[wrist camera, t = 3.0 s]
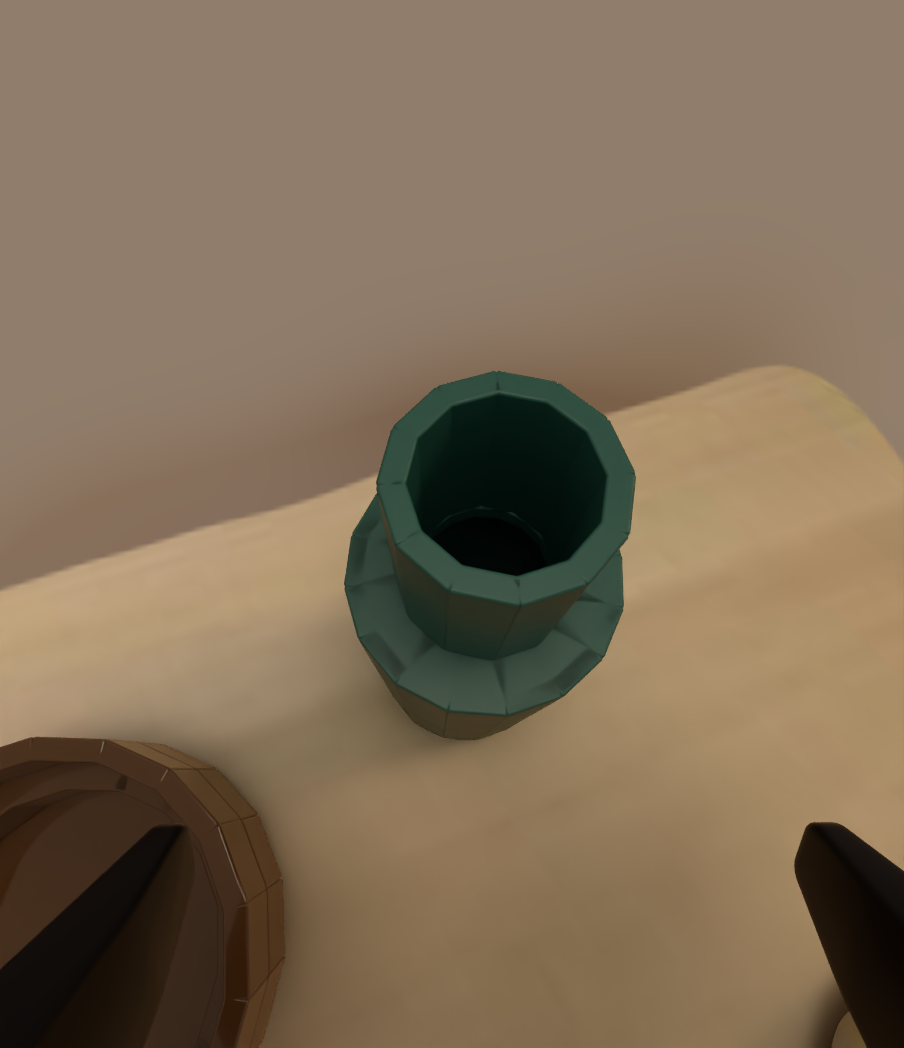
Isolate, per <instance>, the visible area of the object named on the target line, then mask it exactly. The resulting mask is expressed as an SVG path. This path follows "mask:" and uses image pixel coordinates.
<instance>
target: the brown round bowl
mask: <svg viewBox="0 0 904 1048" xmlns="http://www.w3.org/2000/svg"><path fill="white" fill-rule="evenodd" d="M158 824H184V825H186V827H187V828H188V831H189V835H190V839H191V844H192V849H193V853H194V858H195V863H196V871H195V878H194V883H193V886H192V890H191V894H190V897H189V901H188V905H187V908H186V912H185V916H184V919H183V923H182V927H181V930H180V934H179V938H178V941H177V945H176V949H175V952H174V956H173V960H172V963H171V967H170V970H169V974H168V978H167V981H166V985H165V988H164V992H163V995H162V998H161V1002H160V1005H159V1008H158V1010H157V1013H156V1016H155V1019H154V1022H153V1025H152V1027H151V1030H150V1033H149V1035H148V1038H147V1041H146V1043H145V1046H144V1048H259V1046H260V1044H261V1043H262V1040H263V1038H264V1035H265V1032H266V1028H267V1024H268V1020H269V1016H270V1012H271V1009H272V1005H273V1001H274V997H275V993H276V990H277V986H278V982H279V978H280V974H281V970H282V967H283V963H284V959H285V956H284V955H285V936H284V907H283V881H282V879H280V878H281V874H280V871H279V868H278V866H277V863H276V860H275V858H274V855H273V853H272V850H271V847H270V845H269V842H268V839H267V837H266V834H265V831H264V829H263V826H262V823H261V821H260V818H259V817H258V816H257V812H256V811H255V810H254V809H253V808H252V807H251V806H250V804H249V803H248V802H247V801H246V800H245V799H244V798H243V797H242V796H241V795H240V793H239V792H238V791H237V790H236V789H235V788H234V787H233V786H232V785H231V784H230V783H229V781H228V780H227V779H226V778H225V777H224V776H223V775H222V774H221V773H220V772H219V770H217V769H216V768H215V767H212V766H210V765H208V764H206V763H204V762H201V761H199V760H197V759H195V758H193V757H190V756H188V755H186V754H184V753H182V752H179V751H177V750H175V749H173V748H170V747H168V746H166V745H162V744H155V743H144V742H132V741H121V740H110V739H89V738H58V737H35V738H32V737H31V738H28V739H24V740H21V741H18V742H15V743H12V744H9V745H5V746H2V747H0V969H1V968H2V967H3V966H4V965H5V964H6V963H7V962H8V961H9V960H10V959H11V958H12V957H14V956H15V955H16V954H17V953H18V952H19V951H20V950H21V949H22V948H23V947H24V946H25V945H26V944H27V943H29V942H30V941H31V940H32V939H33V938H34V937H35V936H36V935H37V934H38V933H39V932H40V931H41V930H43V929H44V928H45V927H46V926H47V925H48V924H49V923H50V922H51V921H52V920H53V919H54V918H55V917H56V916H58V915H59V914H60V913H61V912H62V911H63V910H64V909H65V908H66V907H67V906H68V905H69V904H70V903H71V902H73V901H74V900H75V899H76V898H77V897H78V896H79V895H80V894H81V893H82V892H83V891H84V890H85V889H86V888H88V887H89V886H90V885H91V884H92V883H93V882H94V881H95V880H96V879H97V878H98V877H99V876H100V875H101V874H103V873H104V872H105V871H106V870H107V869H108V868H109V867H110V866H111V865H112V864H113V863H114V862H115V861H116V860H118V859H119V858H120V857H121V856H122V855H123V854H124V853H125V852H126V851H127V850H128V849H129V848H130V847H132V846H133V845H134V844H135V843H136V842H137V841H138V840H139V839H140V838H141V837H142V836H143V835H144V834H145V833H147V832H148V831H149V830H150V829H151V828H152V827H154V826H155V825H158Z"/></svg>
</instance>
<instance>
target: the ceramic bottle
mask: <svg viewBox="0 0 904 1048" xmlns="http://www.w3.org/2000/svg"><path fill="white" fill-rule="evenodd" d="M635 480H636V477H635V471H634V469H633V467H632V465H631V463H630V461H629V459H628V457H627V455H626V453H625V451H624V449H623V447H622V445H621V443H620V441H619V439H618V437H617V435H616V432H615V430H614V428H613V426H612V424H611V422H610V421H609V420H607V417H606V416H604V415H603V414H602V413H600V412H599V411H597V410H596V409H595V408H593V407H592V406H590V405H589V404H588V403H586V402H585V401H583V400H582V399H580V398H579V397H578V396H576V395H575V394H574V393H572V392H571V391H570V390H568V389H567V388H565V387H564V386H563V385H561V384H559V383H558V384H557V382H555V381H549V380H543V379H538V378H533V377H527V376H522V375H517V374H511V373H506V372H501V371H498V372H494V371H493V372H489V373H485V374H481V375H478V376H474V377H470V378H466V379H462V380H459V381H455V382H451V383H447V384H444V385H440V386H438V387H437V388H434V389H433V390H432V391H431V392H430V393H429V394H428V395H427V396H426V397H424V398H423V399H422V400H421V401H420V402H419V403H418V404H417V405H416V406H415V407H414V408H412V409H411V410H410V411H409V412H408V413H407V414H406V415H405V416H404V417H403V418H402V419H400V420H399V421H398V422H397V423H396V424H395V425H394V427H393V429H392V430H391V432H390V436H389V439H388V443H387V447H386V450H385V454H384V457H383V460H382V464H381V467H380V471H379V474H378V478H377V481H376V484H377V488H376V490H377V494H376V495H375V497H374V499H373V500H372V502H371V504H370V505H369V507H368V509H367V510H366V512H365V513H364V515H363V517H362V518H361V520H360V522H359V523H358V525H357V527H356V528H355V530H354V531H353V534H352V536H351V541H350V548H349V555H348V562H347V568H346V575H345V582H344V585H345V593H346V596H347V600H348V604H349V607H350V611H351V615H352V618H353V622H354V626H355V629H356V633H357V637H358V638H359V640H360V643H361V644H362V646H363V647H364V649H365V651H366V652H367V654H368V656H369V657H370V659H371V661H372V662H373V664H374V666H375V667H376V669H377V670H378V672H379V674H380V675H381V677H382V679H383V680H384V682H385V684H386V685H387V687H388V689H389V690H390V692H391V693H392V695H393V697H394V698H395V699H396V701H397V702H398V703H399V704H400V706H401V707H402V708H403V710H404V711H405V712H406V713H407V714H408V716H409V717H410V718H411V719H412V721H414V722H415V723H417V724H419V725H420V726H422V727H423V728H425V729H427V730H428V731H430V732H433V733H435V734H437V735H439V736H441V737H444V738H452V739H458V740H478V739H481V738H483V737H487V736H490V735H493V734H495V733H498V732H501V731H503V730H506V729H508V728H510V727H511V726H513V725H515V724H517V723H518V722H520V721H522V720H524V719H525V718H527V717H529V716H530V715H532V714H534V713H536V712H537V711H539V710H541V709H543V708H544V707H546V706H548V705H550V704H551V703H553V702H555V701H557V700H558V699H560V698H562V697H563V696H565V695H566V694H567V693H568V692H569V691H570V690H571V689H572V688H573V687H574V686H575V685H576V684H577V683H579V682H580V681H581V680H582V679H583V678H584V677H585V676H586V675H587V674H588V673H589V672H590V671H591V670H592V669H593V668H594V667H595V666H596V665H597V664H599V663H600V662H601V661H602V658H603V657H604V656H605V654H606V651H607V649H608V646H609V644H610V641H611V639H612V636H613V634H614V631H615V629H616V626H617V624H618V621H619V619H620V617H621V614H622V612H623V606H624V600H623V572H622V557H621V553H620V550H619V549H620V547H621V546H622V545H623V544H624V542H625V541H626V540H627V539H628V535H629V534H630V529H631V520H632V510H633V500H634V490H635Z"/></svg>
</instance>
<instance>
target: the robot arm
mask: <svg viewBox="0 0 904 1048" xmlns="http://www.w3.org/2000/svg"><path fill="white" fill-rule="evenodd" d="M794 868H795V874H796V878H797V881H798V884H799V887H800V889H801V892H802V894H803V897H804V900H805V902H806V905H807V907H808V910H809V913H810V915H811V918H812V920H813V923H814V926H815V928H816V931H817V933H818V936H819V939H820V941H821V944H822V946H823V949H824V952H825V954H826V957H827V959H828V962H829V965H830V967H831V970H832V972H833V975H834V978H835V980H836V982H837V985H838V987H839V990H840V992H841V995H842V997H843V999H844V1001H845V1003H846V1006H847V1008H848V1010H849V1012H850V1014H851V1016H852V1019H853V1021H854V1023H855V1025H856V1027H857V1029H858V1031H859V1033H860V1035H861V1037H862V1039H863V1041H864V1043H865V1045H866V1047H867V1048H904V871H903V870H902V869H900V868H899V867H898V866H896V865H895V864H894V863H892V862H891V861H890V860H888V859H887V858H886V857H884V856H883V855H882V854H880V853H879V852H878V851H876V850H875V849H874V848H872V847H871V846H870V845H868V844H867V843H866V842H864V841H863V840H862V839H860V838H859V837H858V836H856V835H855V834H854V833H852V832H851V831H850V830H848V829H847V828H846V827H844V826H842V825H840V824H838V823H833V822H813V823H810V824H809V825H808V826H807V827H806V828H805V831H804V834H803V837H802V840H801V843H800V846H799V849H798V852H797V854H796V857H795V863H794ZM195 871H196V863H195V858H194V853H193V849H192V844H191V839H190V835H189V831H188V828H187V827H186V825H184V824H158V825H155V826H154V827H152V828H151V829H150V830H149V831H148V832H147V833H145V834H144V835H143V836H142V837H141V838H140V839H139V840H138V841H137V842H136V843H135V844H134V845H133V846H132V847H130V848H129V849H128V850H127V851H126V852H125V853H124V854H123V855H122V856H121V857H120V858H119V859H118V860H116V861H115V862H114V863H113V864H112V865H111V866H110V867H109V868H108V869H107V870H106V871H105V872H104V873H103V874H101V875H100V876H99V877H98V878H97V879H96V880H95V881H94V882H93V883H92V884H91V885H90V886H89V887H88V888H86V889H85V890H84V891H83V892H82V893H81V894H80V895H79V896H78V897H77V898H76V899H75V900H74V901H73V902H71V903H70V904H69V905H68V906H67V907H66V908H65V909H64V910H63V911H62V912H61V913H60V914H59V915H58V916H56V917H55V918H54V919H53V920H52V921H51V922H50V923H49V924H48V925H47V926H46V927H45V928H44V929H43V930H41V931H40V932H39V933H38V934H37V935H36V936H35V937H34V938H33V939H32V940H31V941H30V942H29V943H27V944H26V945H25V946H24V947H23V948H22V949H21V950H20V951H19V952H18V953H17V954H16V955H15V956H14V957H12V958H11V959H10V960H9V961H8V962H7V963H6V964H5V965H4V966H3V967H2V968H1V969H0V1048H144V1046H145V1043H146V1041H147V1038H148V1035H149V1033H150V1030H151V1027H152V1025H153V1022H154V1019H155V1016H156V1013H157V1010H158V1008H159V1005H160V1002H161V998H162V995H163V992H164V988H165V985H166V981H167V978H168V974H169V970H170V967H171V963H172V960H173V956H174V952H175V949H176V945H177V941H178V938H179V934H180V930H181V927H182V923H183V919H184V916H185V912H186V908H187V905H188V901H189V897H190V894H191V890H192V886H193V883H194V878H195Z"/></svg>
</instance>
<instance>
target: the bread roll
mask: <svg viewBox="0 0 904 1048" xmlns="http://www.w3.org/2000/svg"><path fill="white" fill-rule="evenodd" d="M831 1048H867V1047H866V1045H865V1043H864V1041H863V1039H862V1037H861V1035H860V1033H859V1031H858V1029H857V1027H856V1025H855V1023H854V1021H853V1019H852V1016H851V1014H850V1012H849V1011H848V1013H847V1014H846V1015H845V1016H844V1017H843V1018H842V1020H841V1021H840V1023H839V1024H838V1027H837V1030H836V1032H835V1035H834V1039H833V1043H832V1047H831Z"/></svg>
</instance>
